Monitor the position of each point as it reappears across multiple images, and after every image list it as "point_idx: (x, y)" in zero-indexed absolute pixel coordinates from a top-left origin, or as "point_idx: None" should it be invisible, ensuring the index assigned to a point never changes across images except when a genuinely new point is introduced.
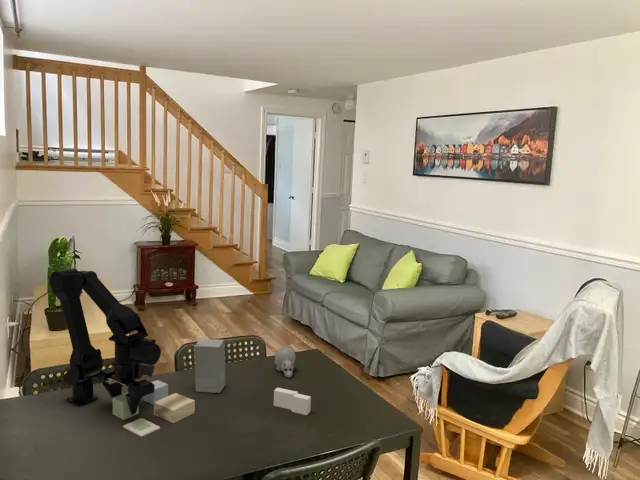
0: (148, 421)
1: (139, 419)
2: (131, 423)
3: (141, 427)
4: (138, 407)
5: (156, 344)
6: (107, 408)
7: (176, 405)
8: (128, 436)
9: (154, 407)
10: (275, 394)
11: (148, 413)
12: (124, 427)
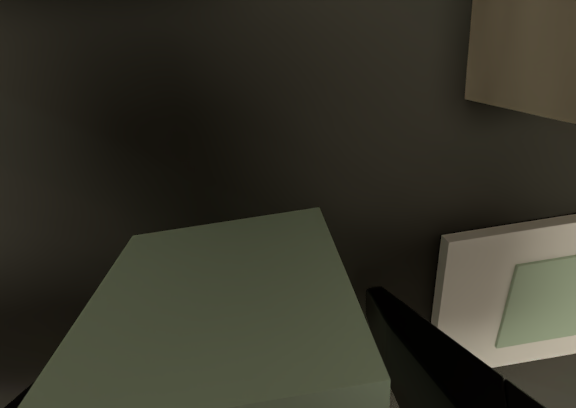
0: (553, 229)
1: (454, 268)
2: (456, 333)
3: (573, 309)
4: (336, 250)
5: None
6: (41, 360)
7: None
8: (545, 376)
9: (560, 113)
10: None
11: (392, 129)
12: None
